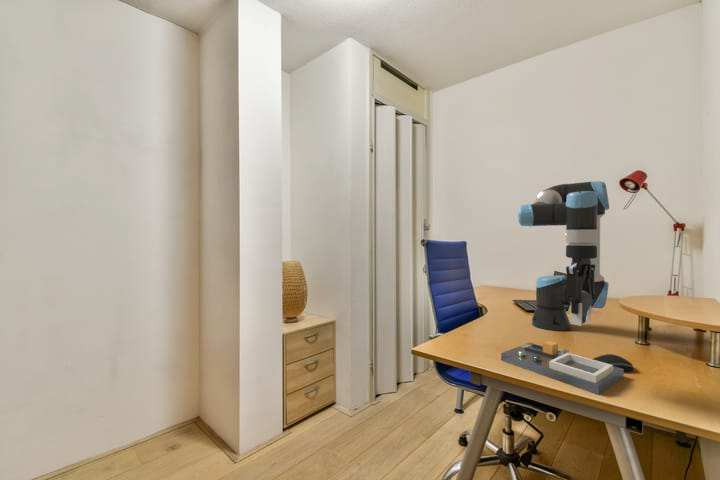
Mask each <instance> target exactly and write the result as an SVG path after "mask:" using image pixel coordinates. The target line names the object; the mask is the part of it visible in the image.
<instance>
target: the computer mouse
mask: <svg viewBox="0 0 720 480" xmlns="http://www.w3.org/2000/svg"><path fill="white" fill-rule="evenodd" d="M591 359H592V360H596V361H600V362H603V363H607V364H610V365H613V366H614V367H618V368H622V369H624V373H632V372H633V373H634V371H635V368H634V366H633V364H632V362H630V361H629V360H628V359H625V358H623V357H622V356H620V355H617V354H611V353H609V354H602V355H599V356H597V357H594V358H591Z"/></svg>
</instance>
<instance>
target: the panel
mask: <svg viewBox="0 0 720 480" xmlns="http://www.w3.org/2000/svg"><path fill="white" fill-rule="evenodd" d="M569 351H570V350H569V349H566V348H565V349H563V350H558V354H556V355H551V354H548V353H544V352H543V345H540V344H536V343H532V342H528V343H525V344H522V345H519V346H517V347H513V348H511V349H509V350H506V351H503V352H501V353H500V356H501V357H500V360H501V361H502V362H504V363H508V364H510V365H514V366H516V367H519V368H522V369H524V370H528V371H531V372H533V373H536V374H539V375H541V376H544V377H547V378H549V379H550V378H551V380H552V379H553V380H556V381H559V382H561V383H563V384H567V385H569V386H572V387H576V388H578V389H581V390H584V391H586V392H590V393H592V394H596V395H598V396H600V395H601V394H603V392H605V391H606V390H608V389H610V388H611V387H612V386H614V385H615V384H616V383H618V382H619V381H620V380H623V379H624V373H625V372H624V369H622V368H618V367H614V366H613V372H612V373H611V374H609V375H608V376H606V377H605V378H603V379H602V380H600V381H598V382H597V383H594V382H591V381H588V380H585V379H582V378H579V377H576V376H573V375H570V374H567V373H564V372H561V371H558V370H555V369H552V368H549V361H551V360H553V359H555V358H557V357H559V356H561V355H564V354H566V353H570V352H569ZM564 365H567V366H571V367H574V368H577V369H580V370H583V371H587V372H590V373H595V372H597V371H598V370H600V369H597V368H593V367H590V366H587V365H583V364H580V363H577V362H573V361H568V362H566V363H564Z"/></svg>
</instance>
